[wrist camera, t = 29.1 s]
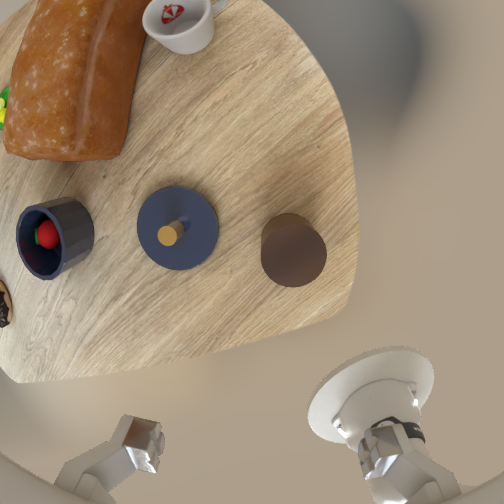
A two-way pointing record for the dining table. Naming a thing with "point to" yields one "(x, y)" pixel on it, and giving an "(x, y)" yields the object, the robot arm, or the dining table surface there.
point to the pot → (70, 231)
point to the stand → (292, 251)
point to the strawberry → (47, 235)
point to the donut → (4, 307)
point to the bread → (74, 80)
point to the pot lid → (177, 228)
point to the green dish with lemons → (3, 105)
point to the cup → (182, 23)
